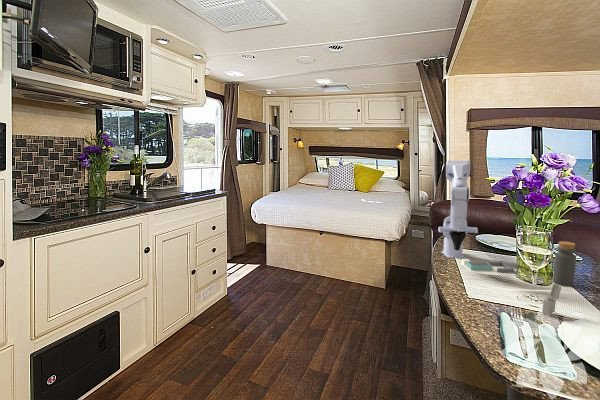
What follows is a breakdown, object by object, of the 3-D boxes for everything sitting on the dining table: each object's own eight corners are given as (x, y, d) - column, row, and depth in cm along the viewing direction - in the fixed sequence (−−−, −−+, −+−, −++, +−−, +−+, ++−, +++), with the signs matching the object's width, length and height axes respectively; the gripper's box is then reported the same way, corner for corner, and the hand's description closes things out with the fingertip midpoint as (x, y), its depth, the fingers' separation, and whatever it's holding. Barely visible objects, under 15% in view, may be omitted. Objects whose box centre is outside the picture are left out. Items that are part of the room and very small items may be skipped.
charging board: (472, 275, 127) (472, 269, 127) (459, 263, 141) (460, 258, 141) (516, 276, 125) (517, 271, 125) (499, 264, 139) (499, 259, 139)
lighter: (548, 316, 95) (551, 289, 94) (541, 313, 96) (544, 287, 95) (559, 310, 98) (561, 284, 97) (552, 307, 100) (554, 282, 99)
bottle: (577, 287, 115) (581, 245, 113) (558, 285, 116) (562, 244, 114) (567, 280, 121) (571, 241, 119) (549, 279, 122) (553, 240, 120)
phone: (470, 269, 131) (471, 265, 131) (466, 265, 136) (466, 261, 136) (492, 270, 130) (492, 266, 130) (486, 266, 135) (486, 262, 135)
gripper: (442, 218, 129) (441, 252, 130) (481, 219, 127) (479, 253, 129) (437, 215, 135) (435, 247, 137) (474, 215, 134) (472, 248, 135)
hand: (456, 249), depth 133 cm, fingers closed
